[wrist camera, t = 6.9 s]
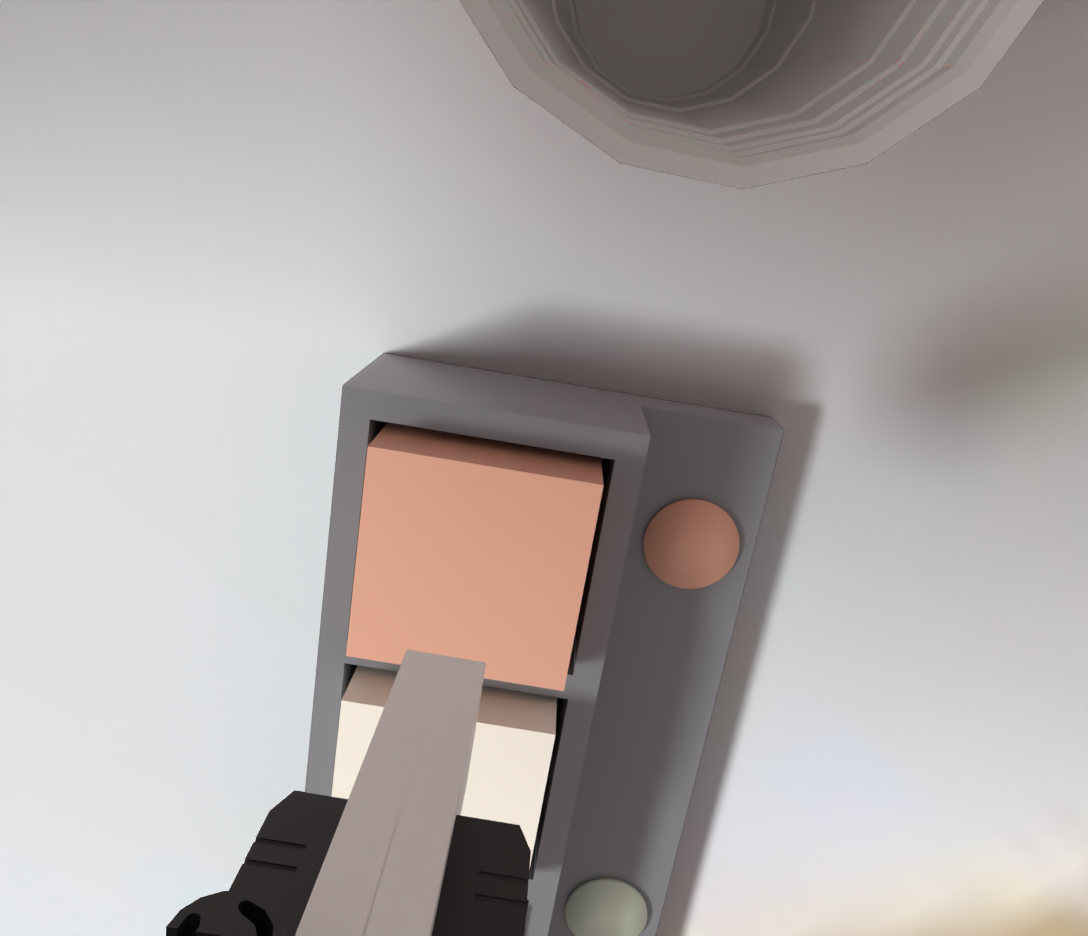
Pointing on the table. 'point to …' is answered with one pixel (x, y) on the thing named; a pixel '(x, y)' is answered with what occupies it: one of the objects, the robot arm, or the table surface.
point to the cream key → (497, 755)
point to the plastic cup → (747, 75)
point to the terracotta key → (473, 552)
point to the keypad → (587, 614)
